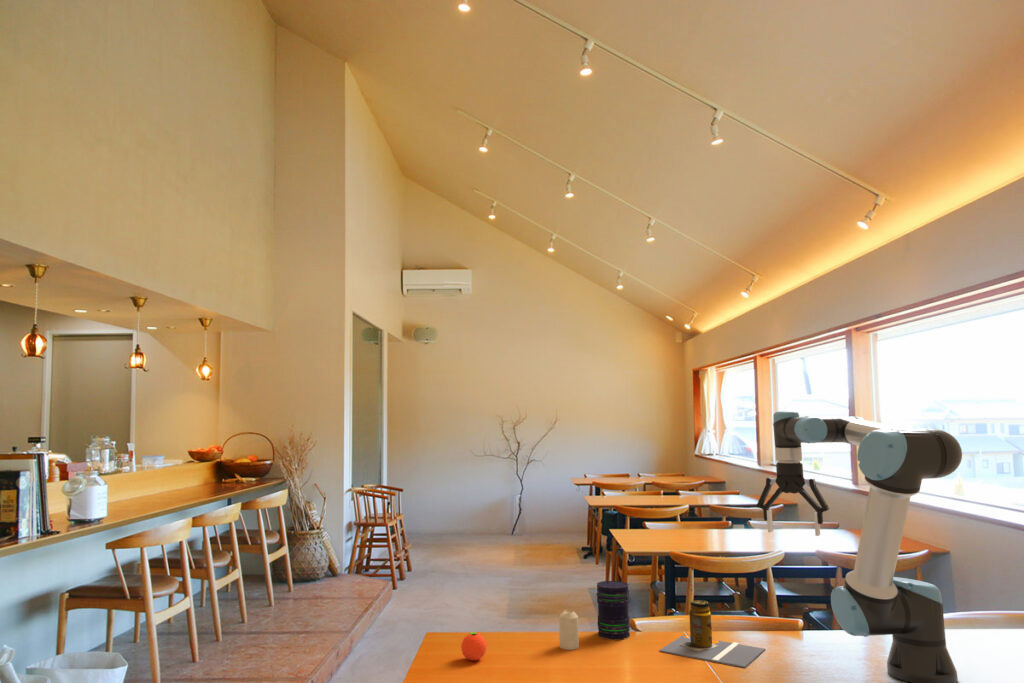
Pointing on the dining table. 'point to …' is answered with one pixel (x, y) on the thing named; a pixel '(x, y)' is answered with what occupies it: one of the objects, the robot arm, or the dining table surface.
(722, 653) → the mat
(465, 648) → the clementine
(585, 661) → the dining table surface
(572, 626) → the candle
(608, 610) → the storage jar
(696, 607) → the condiment
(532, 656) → the dining table surface
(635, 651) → the dining table surface
